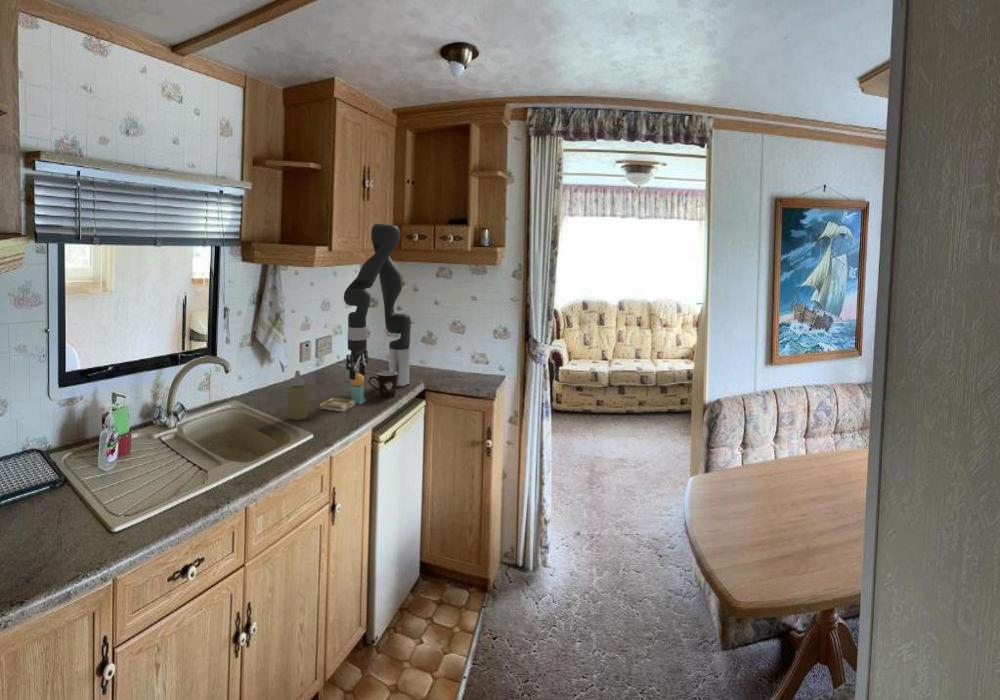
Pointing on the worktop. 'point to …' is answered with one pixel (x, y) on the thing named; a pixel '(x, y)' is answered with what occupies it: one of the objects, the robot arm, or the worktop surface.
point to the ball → (357, 380)
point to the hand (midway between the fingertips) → (357, 377)
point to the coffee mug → (386, 383)
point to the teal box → (358, 394)
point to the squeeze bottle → (298, 399)
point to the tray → (337, 404)
